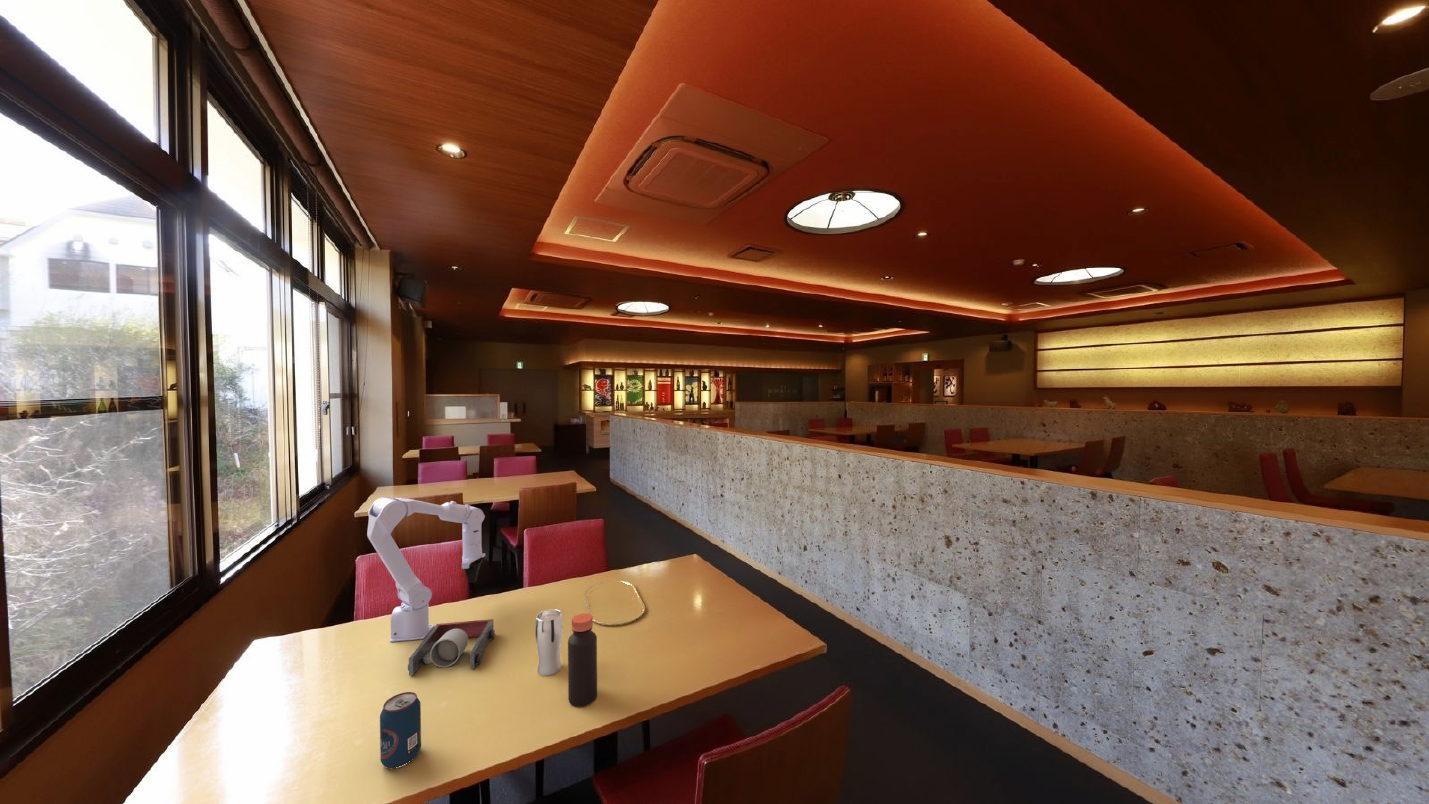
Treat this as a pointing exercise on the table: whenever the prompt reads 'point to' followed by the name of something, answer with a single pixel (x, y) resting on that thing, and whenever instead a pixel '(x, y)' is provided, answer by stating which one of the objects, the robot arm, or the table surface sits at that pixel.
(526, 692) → the table surface
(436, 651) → the ceramic mug
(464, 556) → the robot arm
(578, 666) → the bottle
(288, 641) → the table surface
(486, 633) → the grey u-frame
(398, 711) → the soda can
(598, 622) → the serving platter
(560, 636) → the beer glass
